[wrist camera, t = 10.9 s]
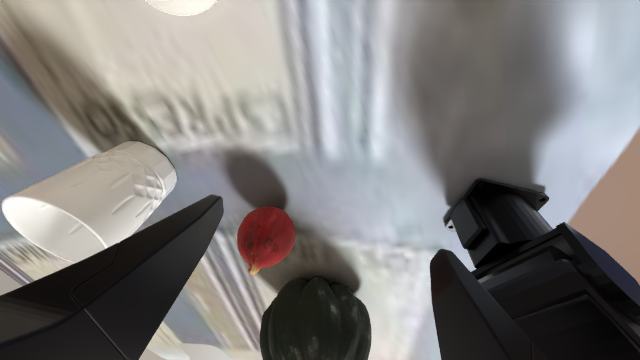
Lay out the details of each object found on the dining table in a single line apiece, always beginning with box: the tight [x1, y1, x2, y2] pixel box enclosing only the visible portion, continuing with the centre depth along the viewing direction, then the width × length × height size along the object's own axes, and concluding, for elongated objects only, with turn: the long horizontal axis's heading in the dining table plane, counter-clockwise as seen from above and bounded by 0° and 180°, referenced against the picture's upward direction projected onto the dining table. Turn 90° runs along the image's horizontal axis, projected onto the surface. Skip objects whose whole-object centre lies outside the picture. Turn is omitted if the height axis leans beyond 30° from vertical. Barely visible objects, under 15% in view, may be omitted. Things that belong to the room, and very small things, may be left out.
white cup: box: [2, 141, 177, 263], centre depth 23 cm, size 8×8×10 cm
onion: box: [237, 207, 295, 275], centre depth 25 cm, size 6×6×8 cm
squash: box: [260, 277, 371, 360], centre depth 32 cm, size 14×15×15 cm
